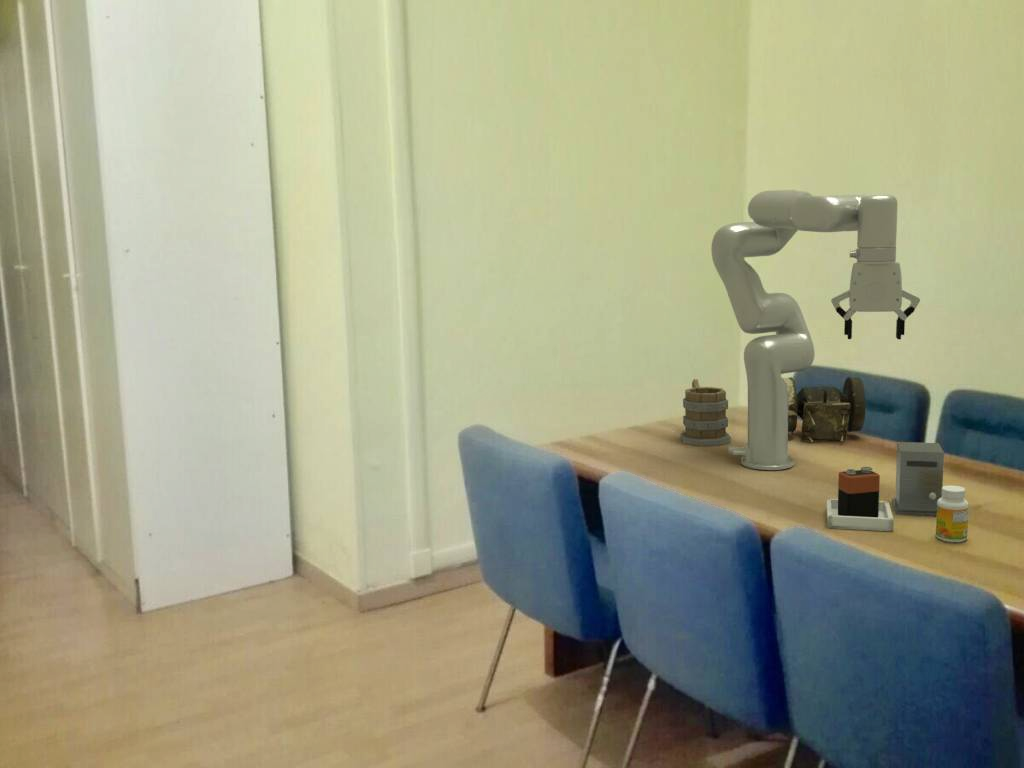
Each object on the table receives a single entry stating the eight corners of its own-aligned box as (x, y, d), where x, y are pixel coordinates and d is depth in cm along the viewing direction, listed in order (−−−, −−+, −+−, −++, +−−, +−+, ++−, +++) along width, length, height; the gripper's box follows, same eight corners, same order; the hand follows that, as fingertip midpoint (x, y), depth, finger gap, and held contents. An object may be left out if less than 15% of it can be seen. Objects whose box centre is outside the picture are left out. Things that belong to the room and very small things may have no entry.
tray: (827, 528, 192) (827, 516, 192) (826, 509, 203) (826, 498, 203) (893, 531, 189) (893, 519, 188) (888, 512, 200) (888, 501, 199)
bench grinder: (773, 415, 279) (775, 357, 267) (854, 411, 275) (860, 352, 264) (783, 462, 262) (785, 403, 251) (869, 458, 259) (875, 398, 247)
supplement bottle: (930, 534, 186) (932, 485, 185) (957, 532, 187) (959, 483, 185) (944, 544, 181) (947, 493, 179) (972, 542, 181) (975, 491, 180)
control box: (895, 514, 199) (897, 451, 197) (891, 500, 208) (893, 441, 205) (944, 516, 196) (947, 453, 194) (938, 503, 205) (941, 442, 203)
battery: (879, 518, 195) (881, 469, 193) (848, 521, 193) (849, 472, 192) (867, 512, 199) (868, 464, 197) (836, 515, 198) (837, 467, 196)
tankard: (733, 445, 260) (734, 389, 257) (685, 447, 260) (685, 391, 257) (718, 429, 279) (718, 377, 277) (674, 430, 280) (673, 378, 277)
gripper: (832, 258, 201) (830, 340, 204) (923, 256, 196) (920, 341, 199) (831, 256, 208) (829, 336, 211) (919, 254, 203) (916, 336, 206)
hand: (873, 338), depth 205 cm, fingers open, 9 cm apart
